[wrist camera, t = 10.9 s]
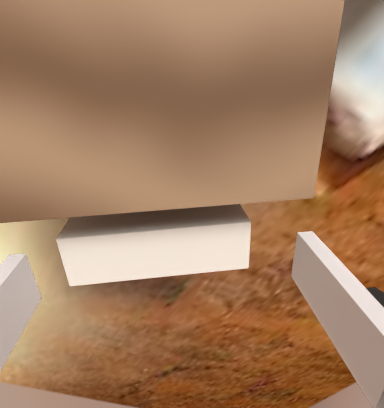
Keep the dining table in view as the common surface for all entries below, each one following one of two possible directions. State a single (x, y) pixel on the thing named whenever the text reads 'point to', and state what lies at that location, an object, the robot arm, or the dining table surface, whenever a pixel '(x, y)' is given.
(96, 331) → the dining table surface
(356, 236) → the dining table surface
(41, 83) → the cabinet
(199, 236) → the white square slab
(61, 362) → the dining table surface
